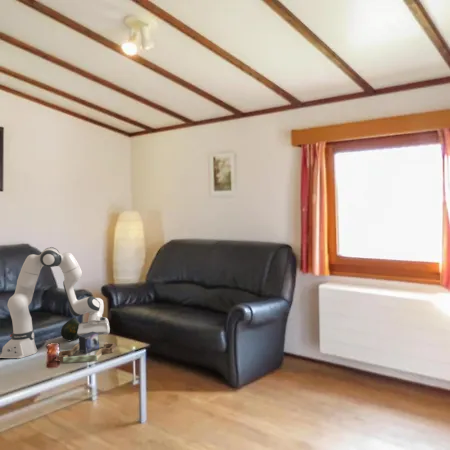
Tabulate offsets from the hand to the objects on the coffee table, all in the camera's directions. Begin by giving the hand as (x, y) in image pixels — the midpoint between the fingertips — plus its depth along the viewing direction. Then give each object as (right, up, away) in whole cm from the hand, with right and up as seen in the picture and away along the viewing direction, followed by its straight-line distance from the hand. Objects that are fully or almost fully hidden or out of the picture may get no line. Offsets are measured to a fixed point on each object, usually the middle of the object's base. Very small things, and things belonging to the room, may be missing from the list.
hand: (92, 340), depth 288 cm
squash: (-20, -5, +22) cm, 30 cm away
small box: (0, -5, -6) cm, 8 cm away
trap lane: (0, -5, -12) cm, 13 cm away
